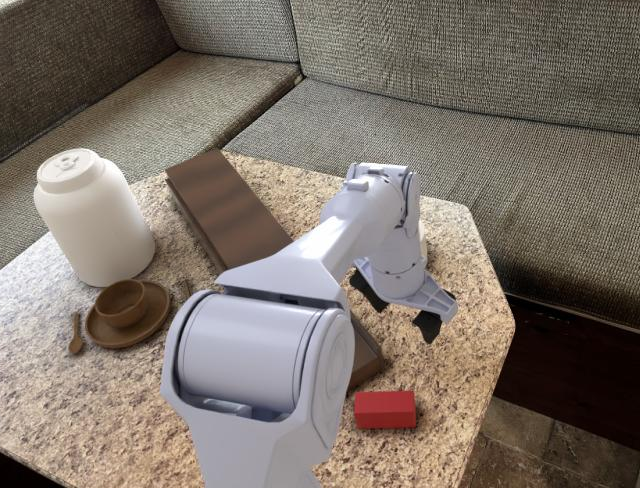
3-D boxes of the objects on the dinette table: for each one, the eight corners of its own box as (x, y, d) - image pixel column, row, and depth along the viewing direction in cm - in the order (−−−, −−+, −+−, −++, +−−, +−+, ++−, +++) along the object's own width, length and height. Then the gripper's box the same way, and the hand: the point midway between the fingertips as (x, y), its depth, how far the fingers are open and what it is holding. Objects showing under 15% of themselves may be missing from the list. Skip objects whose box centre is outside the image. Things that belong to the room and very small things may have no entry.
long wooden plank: (384, 368, 79) (379, 337, 75) (309, 416, 75) (299, 386, 71) (230, 174, 115) (220, 146, 111) (172, 198, 111) (161, 170, 107)
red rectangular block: (357, 429, 73) (353, 413, 71) (359, 407, 75) (355, 391, 73) (415, 427, 72) (413, 411, 70) (415, 406, 74) (413, 390, 72)
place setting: (187, 271, 96) (175, 244, 92) (208, 367, 81) (195, 340, 78) (70, 311, 91) (53, 285, 88) (70, 421, 77) (50, 395, 73)
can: (73, 253, 101) (16, 157, 89) (148, 224, 106) (104, 128, 93) (83, 301, 93) (21, 202, 80) (165, 267, 97) (117, 168, 84)
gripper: (472, 257, 63) (475, 327, 73) (367, 203, 70) (382, 273, 80) (432, 305, 60) (441, 372, 69) (326, 242, 67) (347, 311, 76)
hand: (407, 321), depth 74 cm, fingers open, 7 cm apart
